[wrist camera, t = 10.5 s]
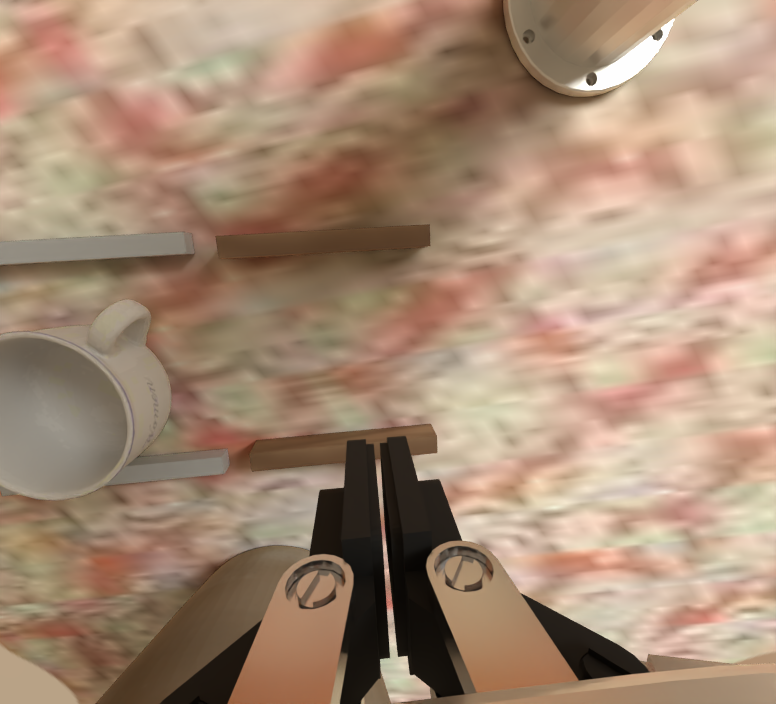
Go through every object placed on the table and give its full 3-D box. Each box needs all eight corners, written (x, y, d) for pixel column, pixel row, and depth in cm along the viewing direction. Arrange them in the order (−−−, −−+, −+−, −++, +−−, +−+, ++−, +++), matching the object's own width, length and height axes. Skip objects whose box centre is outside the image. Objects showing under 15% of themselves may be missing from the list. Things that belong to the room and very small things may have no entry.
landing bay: (-56, 246, 28) (-78, 245, 26) (191, 233, 29) (183, 231, 28) (18, 485, 32) (2, 496, 30) (229, 464, 33) (224, 473, 32)
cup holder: (226, 238, 29) (215, 236, 27) (423, 227, 30) (429, 224, 28) (259, 456, 33) (251, 471, 31) (431, 439, 34) (437, 452, 32)
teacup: (123, 469, 33) (51, 534, 25) (10, 378, 30) (-109, 418, 22) (243, 361, 31) (208, 392, 24) (136, 257, 29) (57, 254, 21)
